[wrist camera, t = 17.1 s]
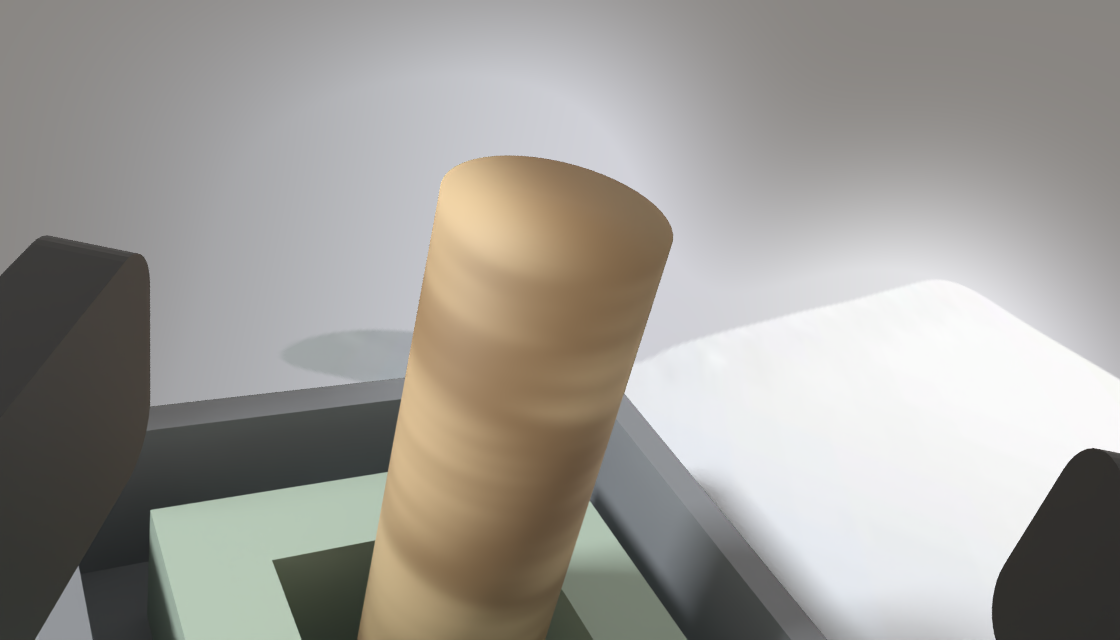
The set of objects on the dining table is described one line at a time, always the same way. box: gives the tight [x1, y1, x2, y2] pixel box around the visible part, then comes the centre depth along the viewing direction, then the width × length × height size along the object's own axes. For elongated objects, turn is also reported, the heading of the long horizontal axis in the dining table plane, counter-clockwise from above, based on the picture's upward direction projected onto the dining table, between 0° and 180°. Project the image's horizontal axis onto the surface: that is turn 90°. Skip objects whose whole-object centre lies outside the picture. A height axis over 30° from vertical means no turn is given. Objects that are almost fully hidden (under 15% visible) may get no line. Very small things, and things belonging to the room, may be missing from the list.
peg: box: [357, 156, 673, 640], centre depth 24 cm, size 4×4×16 cm
